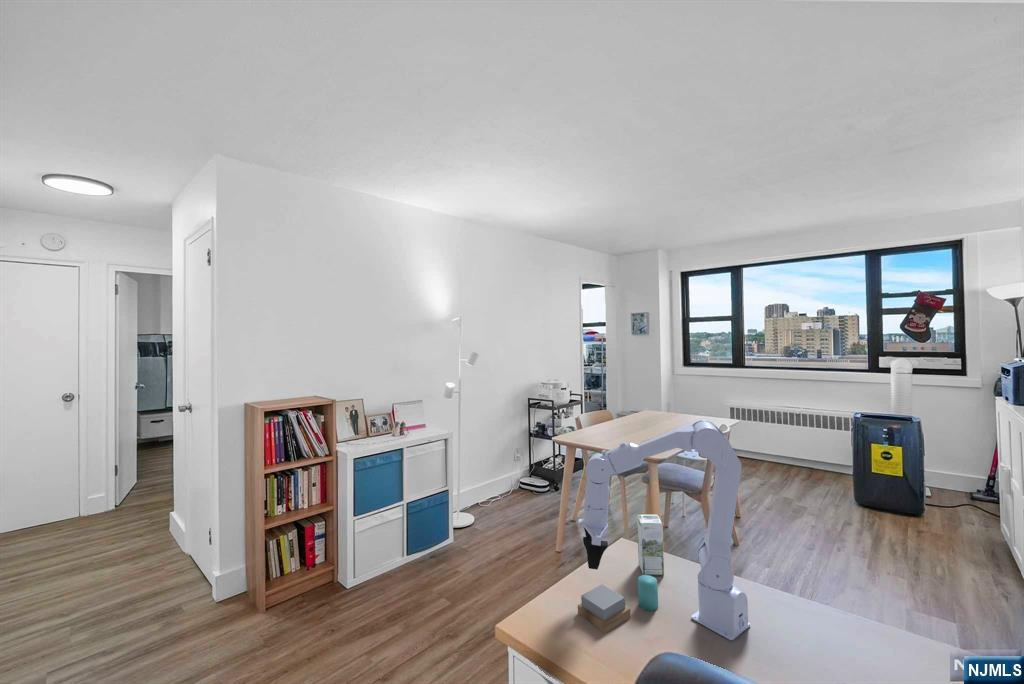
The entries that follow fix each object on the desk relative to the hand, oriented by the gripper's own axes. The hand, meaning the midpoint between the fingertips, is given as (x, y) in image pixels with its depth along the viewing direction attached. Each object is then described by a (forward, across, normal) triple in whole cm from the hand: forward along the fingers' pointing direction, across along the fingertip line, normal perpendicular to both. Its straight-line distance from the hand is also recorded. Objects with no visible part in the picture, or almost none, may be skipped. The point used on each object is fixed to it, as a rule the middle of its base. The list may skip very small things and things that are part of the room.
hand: (592, 559), depth 104 cm
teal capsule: (+9, 0, +14) cm, 17 cm away
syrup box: (+9, -15, +17) cm, 25 cm away
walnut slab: (+11, +5, +3) cm, 12 cm away
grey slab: (+8, +5, +3) cm, 10 cm away
